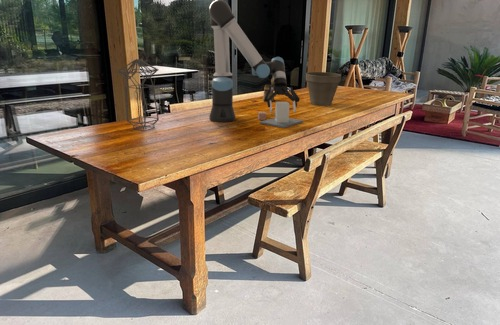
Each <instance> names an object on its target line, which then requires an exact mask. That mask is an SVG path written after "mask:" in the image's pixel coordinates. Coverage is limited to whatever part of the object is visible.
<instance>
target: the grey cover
mask: <svg viewBox="0 0 500 325" xmlns="http://www.w3.org/2000/svg"><path fill="white" fill-rule="evenodd" d="M289 116H290V103H289V102H288V101H275V109H274V118H275V121H276V122H289V118H290V117H289Z"/></svg>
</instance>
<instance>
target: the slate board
mask: <svg viewBox="0 0 500 325" xmlns="http://www.w3.org/2000/svg"><path fill="white" fill-rule="evenodd" d="M301 123H304V120H302V119H298V118H290V117H289V122H276V121H275V117H273V118H269V119H266V120H260V121H259V124H261V125H266V126H271V127H277V128H282V129H285V128H288V127H291V126H292V127H293V126H295V125H298V124H301Z"/></svg>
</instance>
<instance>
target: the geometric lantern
mask: <svg viewBox="0 0 500 325" xmlns="http://www.w3.org/2000/svg"><path fill="white" fill-rule="evenodd" d="M128 66H129V67H128ZM126 67H128V68H126ZM125 68H126V70H123V69H125ZM151 68H152V69H151ZM138 70H139V71H138ZM158 71H159V69H158V68H157V67H155V66H153V65H151V64H149V63H147V62H145V61H143V60H142V59H140V58H138V59H137V58H136V59H134V60H132V61H130V62H129V63H128V64H126V65H124V66H122V67H121V68H119V69H118V70H117V73H118V74H119V75H120V76H121V77H123V78H124V79H125V80H126V81H125V84H124V93H125V94H124V95H125V109H126V110H125V111H126V123H129V124H130V125H132V127H133V128H132V129H133V130H137V131H143V132H146V131H150V130H153V129H156V127H155V124H156V123H158V121H160V119H159V113H158V106H157V98H156V91H155V84H154V83H153V79H152V77H153V75H155V74H156V73H157V72H158ZM137 73H139V75H140V76H142V77H143V80H142V81H141V84H139V82H138V81H137V80H136V79H135V78H134V75H136V74H137ZM130 74H131V75H130ZM144 75H145V76H144ZM132 79H134V80H132ZM147 79H150V82H151V84H146V86H144V85H145V82H146V80H147ZM129 80H130V81H131V82H132V85H128V82H129ZM135 82H136V83H137V84H135ZM137 86H138V87H137ZM134 88H135V91H136V92H135V93H136V102H137V113H138V117H137V116H136V117H132V118H129V113H128V112H129V108H128V107H129V106H128V105H129V104H128V89H134ZM147 88H152V95H153V100H154V106H155V111H156V117H153V116H147V111H146V108H147V107H146V101H145V94H144V93H145V92H144V89H147ZM142 114H143V115H142ZM148 118H149V119H153V120H149V121H146V119H148ZM136 119H138V122H137V121H133V120H136ZM143 120H144V121H143ZM133 123H134V124H133ZM147 124H148V125H147ZM147 127H148V129H147ZM138 128H142V129H138Z"/></svg>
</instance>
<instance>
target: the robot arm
mask: <svg viewBox="0 0 500 325" xmlns="http://www.w3.org/2000/svg"><path fill="white" fill-rule="evenodd" d="M208 10H209V11H208V13H209V16H210V17H209V18H210V28H212V29H213V38H214V39H213V42H214V44H213V45H214V46H213V47H214V64H215V65H214V67H215V72H214V73H213V75H212V78H213V79H212V81H211V82H212V83H211V91H212V92H211V93H212V95H211V96H212V97H211V103H212V104H211V106H212V107H211V110H210V113H209V116H208V117H209V120H210V121H212V122H217V123H228V122H229V123H230V122H234V121H236V113H235V110H234V107H233V102H234V101H233V100H234V98H233V95H234V94H233V93H234V92H233V91H234V80H233V78H234V77H233V73H232V72H231V64H230V63H231V62H230V59H231V58H230V40H231V41H232V42H233V43H234V45H235V46H236V48H237V49H238V50H239V52H240V53H241V54H242V56H243V57H244V58H245V59H246V61H247V63H248V64H249V66H250V67H251V74H252V76H258V78H259V79H260V78H261V79H265V78H267V77H268V76H269V75H272V78H273V83H274V88H273V87H271V86H269V90H268V92H267V94H266V96H265V98H264V101H263V102H264V103H266V104H267V108H269V113H272V111H273V106H272V104H273V103H272V101H271V100H272V99H273V98H274V99H275V97H276V96H277V95H278V96H286V97H287V98H288V99H289V100H290V101H292V107H293V109H292V110H293V113H294V114H295V113H296V112H297V107H298V103H299V102H300V100H301V98H300V97H299V95H298V94H297V92H295V90H294V89H293V88H294V87H293V86H290V87H288V84H287V76H286V68H285V67H286V65H285V61H284V59H283V57H280V56H276V57H273V58H272V59H271V61H265V60H264V59H263V58H262V56H261V54H260V53H259V52H258V50H257V48H256V47H255V45H253V43H252V42H251V41H250V39H249V38H248V36H247V35H246V33H245V32H244V30H242V28H241V26H240V25H239V24H238V22H237V21H236V17H235V15H234V12H232V9H231V7H230V5H229V3H228V2H227V1H225V0H213V1H212V2H211V4H210V5H209V9H208ZM272 90H274V92H273V94H272V95H271V96H270V97H269V98H268V96H269V94H270V92H271V91H272ZM267 98H268V99H267Z"/></svg>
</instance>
